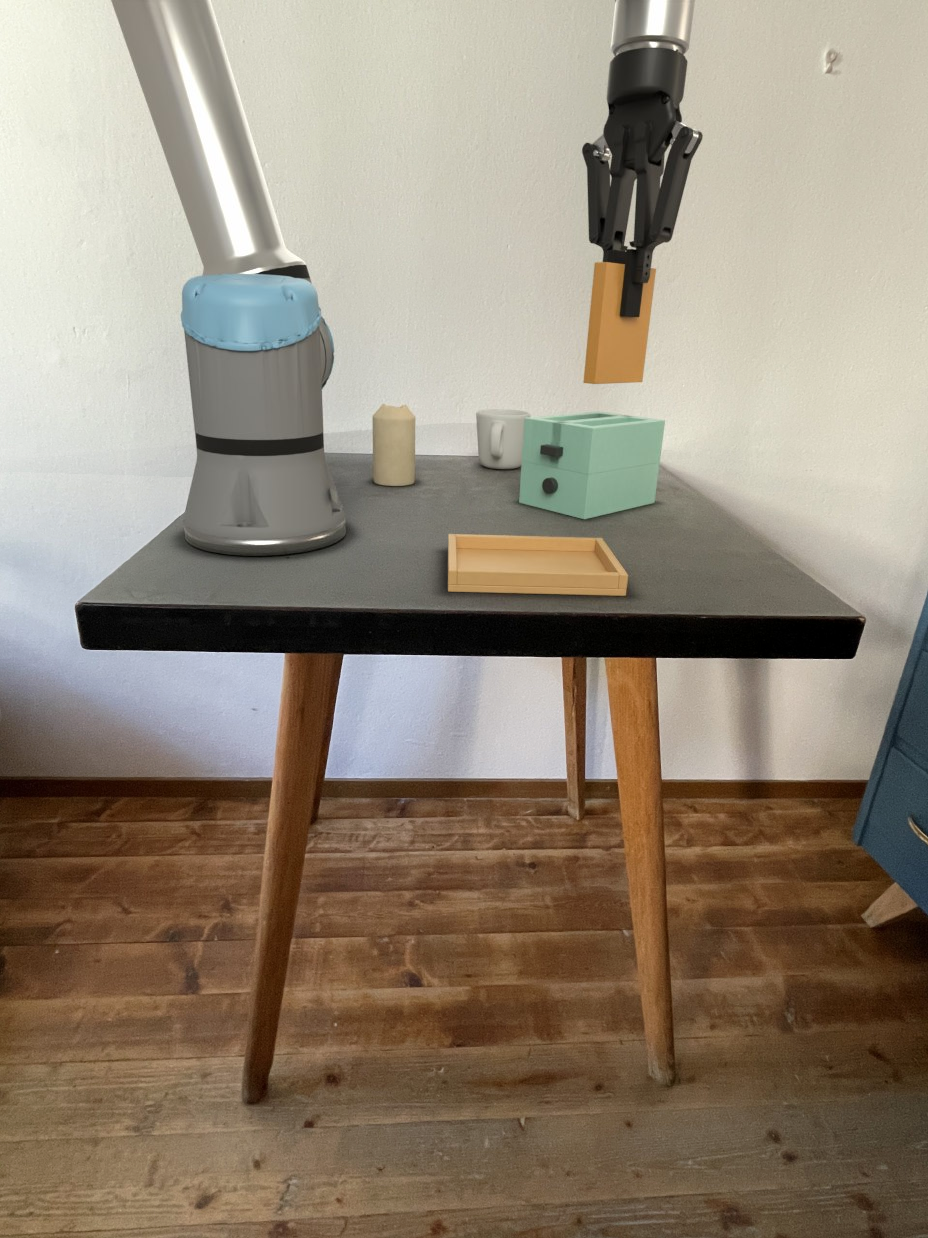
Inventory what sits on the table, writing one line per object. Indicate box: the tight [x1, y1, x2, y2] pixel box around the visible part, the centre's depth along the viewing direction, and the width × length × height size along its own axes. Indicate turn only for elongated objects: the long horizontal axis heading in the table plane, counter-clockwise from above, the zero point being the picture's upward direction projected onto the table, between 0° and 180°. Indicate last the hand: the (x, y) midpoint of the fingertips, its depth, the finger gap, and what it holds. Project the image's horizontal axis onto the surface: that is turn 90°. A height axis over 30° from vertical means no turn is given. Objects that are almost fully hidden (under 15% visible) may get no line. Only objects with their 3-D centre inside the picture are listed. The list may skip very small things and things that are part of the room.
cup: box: [475, 408, 532, 470], centre depth 108 cm, size 11×8×8 cm
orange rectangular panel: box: [583, 261, 657, 385], centre depth 81 cm, size 2×9×12 cm, turn 133°
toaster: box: [518, 411, 666, 520], centre depth 88 cm, size 10×15×10 cm, turn 133°
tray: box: [447, 533, 629, 597], centre depth 64 cm, size 14×11×2 cm
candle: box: [372, 403, 416, 487], centre depth 96 cm, size 6×6×10 cm
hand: (620, 315), depth 81 cm, fingers closed on orange rectangular panel, 1 cm apart
